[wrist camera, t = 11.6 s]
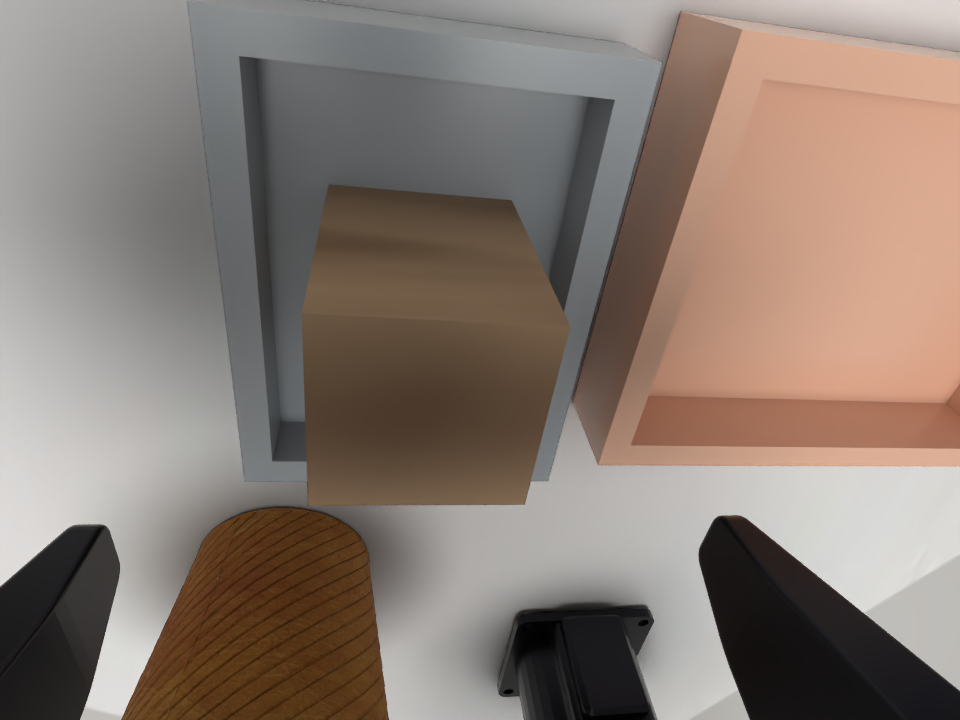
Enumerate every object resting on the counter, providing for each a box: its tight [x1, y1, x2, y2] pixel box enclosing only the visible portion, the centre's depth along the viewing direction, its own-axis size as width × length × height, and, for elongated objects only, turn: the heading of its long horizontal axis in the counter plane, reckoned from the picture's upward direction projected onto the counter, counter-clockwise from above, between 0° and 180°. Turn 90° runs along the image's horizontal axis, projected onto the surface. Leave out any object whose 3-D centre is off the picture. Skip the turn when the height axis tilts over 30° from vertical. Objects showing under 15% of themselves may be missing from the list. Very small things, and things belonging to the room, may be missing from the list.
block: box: [302, 184, 570, 506], centre depth 14 cm, size 4×4×6 cm
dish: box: [573, 11, 960, 466], centre depth 18 cm, size 12×15×3 cm
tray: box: [187, 0, 662, 482], centre depth 16 cm, size 12×9×2 cm
